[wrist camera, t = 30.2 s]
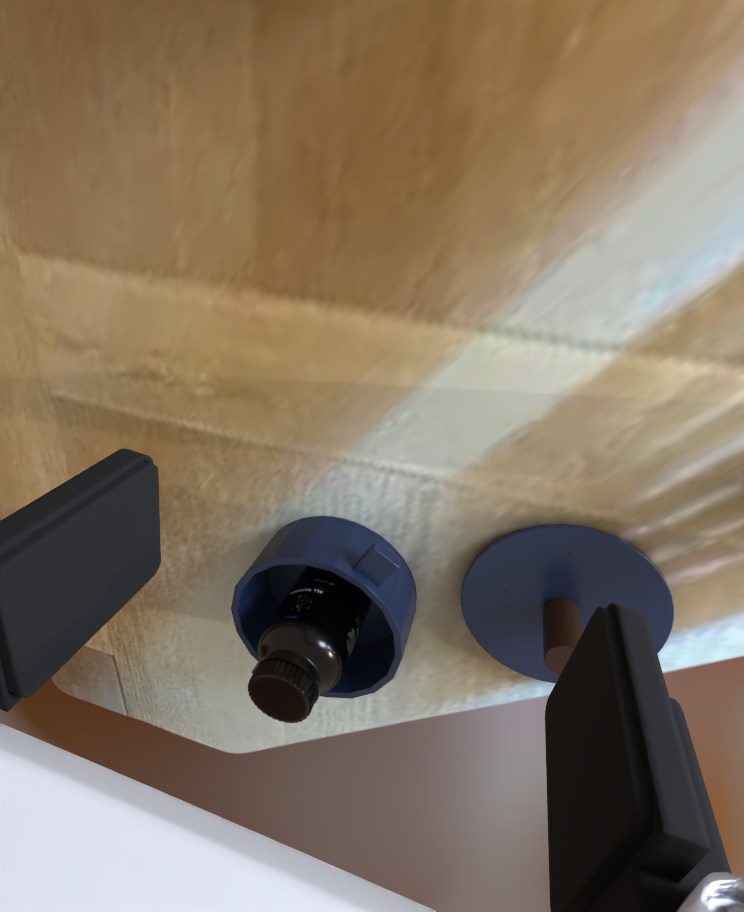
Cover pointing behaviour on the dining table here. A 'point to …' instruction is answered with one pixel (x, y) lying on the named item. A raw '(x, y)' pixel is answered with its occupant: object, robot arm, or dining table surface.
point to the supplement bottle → (307, 644)
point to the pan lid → (556, 594)
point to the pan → (355, 561)
